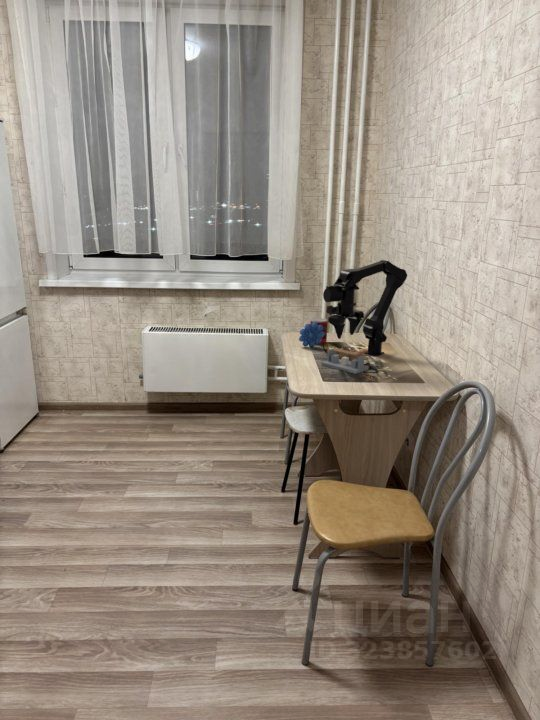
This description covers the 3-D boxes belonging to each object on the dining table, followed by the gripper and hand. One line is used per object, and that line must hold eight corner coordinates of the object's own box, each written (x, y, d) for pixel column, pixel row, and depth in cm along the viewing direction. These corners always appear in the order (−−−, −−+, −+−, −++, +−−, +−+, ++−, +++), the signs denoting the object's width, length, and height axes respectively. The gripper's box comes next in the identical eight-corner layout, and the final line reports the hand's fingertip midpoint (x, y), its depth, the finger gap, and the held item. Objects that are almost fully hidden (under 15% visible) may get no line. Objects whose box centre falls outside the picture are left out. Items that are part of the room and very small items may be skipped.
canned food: (307, 340, 258) (308, 318, 255) (322, 339, 260) (323, 317, 257) (313, 344, 251) (314, 321, 248) (328, 343, 253) (330, 320, 250)
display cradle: (334, 360, 227) (334, 346, 225) (368, 369, 216) (369, 354, 214) (321, 364, 220) (321, 351, 218) (356, 374, 209) (357, 359, 208)
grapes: (324, 345, 250) (325, 320, 246) (323, 349, 243) (324, 323, 240) (299, 344, 251) (300, 319, 248) (298, 348, 245) (299, 322, 241)
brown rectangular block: (329, 356, 234) (329, 349, 233) (334, 354, 236) (334, 347, 236) (354, 362, 226) (354, 355, 225) (359, 360, 228) (359, 353, 227)
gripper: (344, 295, 236) (342, 329, 240) (318, 300, 222) (317, 337, 227) (365, 298, 228) (363, 334, 233) (340, 304, 215) (338, 341, 220)
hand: (345, 336), depth 228 cm, fingers open, 9 cm apart
